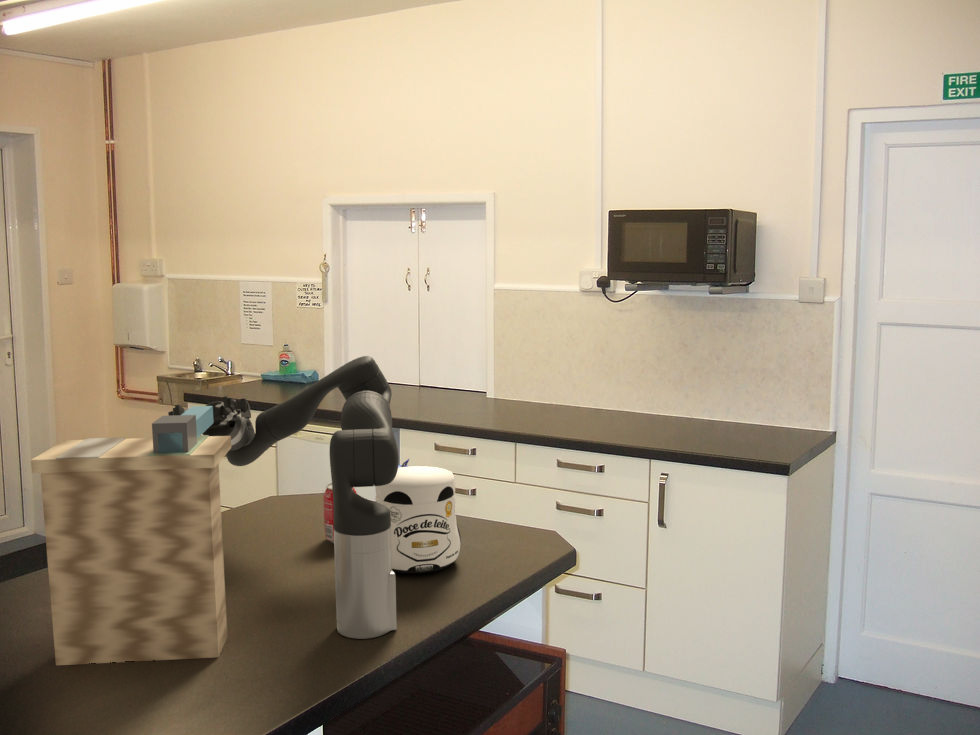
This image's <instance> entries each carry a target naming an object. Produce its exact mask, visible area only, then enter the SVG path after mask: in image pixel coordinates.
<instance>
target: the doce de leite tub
mask: <svg viewBox="0 0 980 735" xmlns="http://www.w3.org/2000/svg"><path fill="white" fill-rule="evenodd" d="M409 466H410V467H399V468H398V471H397V474H396V476H395V478H394V480H393V481H392V482H391V483H389V484H386V485H383V486H375V502H377V503H380V504H383V505H385V506H386V507H387V508H388V509H389V511H390V515H391V555H392V570H393V572H394V573H402V574H425V573H431V572H437V571H440V570H443V569H445V568H448V566H451V565H452V564H453V563H455V562H456V560H457V559H458V557H459V554H460V550H461V542H462V541H461V533H460V529H459V526H458V525H459V524H458V522H457V517H456V516H457V515H456V501H457V500H456V498H457V497H456V480H455V476H454V474H453V472H452V471H451V470H448V469H447V468H442V467H441V468H440V467H437V466H436V467H435V466H425V465H424V466H422V465H421V466H419V465H416V466H415V465H409Z"/></svg>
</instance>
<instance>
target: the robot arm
mask: <svg viewBox="0 0 980 735" xmlns="http://www.w3.org/2000/svg"><path fill="white" fill-rule="evenodd" d="M336 388H337V389H339V391H340V393H341V395H342V396H343V398H344V399H345V402H344V403H343V406H342V409H341V412H340V413H341V414H340V430H337V431H334V432H333V433H332V435H331V437H330V441H329V466H330V477H331V483H332V490H333V512H334V543H333V544H334V545H333V546H334V548H333V550H334V551H333V552H334V574H335V575H334V576H335V582H334V583H335V607H336V608H335V609H336V610H335V611H336V615H335V616H336V629H337V632H338V634H340V635H341V636H344V637H346V638H350V639H358V640H359V639H361V640H362V639H363V640H364V639H373V638H377V637H381V636H383V635H386V634H387V633H389V632H391V631H396V630H397V627H398V626H397V591H396V590H397V588H396V586H397V583H396V582H397V581H396V580H397V578H396V572H394V571H393V570H392V555H391V515H390V511H389V509H388V508H387V507H386V506H385V505H383V504H380V503H377V502H376V501H375V500H370V499H367V498H365V497H363V496H362V495H360V494H358V493H357V492H356V493H357V494H356V493H355V492H354V491H353V490H352V487H354V488H367V487H370V488H371V487H376V486H383V485H386V484H389V483H391V482H392V481H393V480H394V478H395V476H396V474H397V471H398V465H400V464H399V461H400V458H399V448H398V444H397V441H396V437H395V434H394V432H393V417H392V410H391V406H390V404H391V399H392V388H391V386H390V384H389V382H388V381H387V379H386V377H385V375H384V374H383V372H382V371H381V368H380V367H379V366H378V364H377V362H376V360H375V359H374V358H373V357H372V356H369V355H362V356H360V357H356V358H354V359H352V360H350V361H348V362H346V363H345V364H343V365H341V366H339V367H338V368H337V369H334V370H333V371H332V372H330V373H329V374H327V375H325V376H324V377H323V378H321V379H319V380H317V381H316V382H314V383H313V384H311V385H309V386H308V387H307V388H305V389H304V390H302V391H300V392H299V393H298V394H295V396H293V397H291V398H289V399H287V400H285V401H283V402H281V403H279V404H277V405H275V406H273V407H271V408H268V409H266V410H264V411H262V412H260V413H259V414H258V415H257V416H256V418H255V423H254V425H255V428H254V426H253V423H252V420H250V419H251V418H252V412H251V405H250V403H249V402H248V400H247V399H246V398H244V397H243V398H240V399H239V401H237V400H236V399H233V398H232V397H229V396H227V395H225V396H222V400H223V401H219V400H218V401H213V402H209V403H208V404H206V405H205V406H213V422H214V423H213V424H212V425H211V426H210V427H209V428H208V429H207V430H206V431H205V432H204V433H203V434H202V435H209V436H231V449H230V450H229V451H228V452H227V454H226V455H225V456H226V459H227V461H228V462H229V464H230V465H232V466H235V467H245V466H247V465H249V464H252V463H254V461H256V460H257V459H259V458H260V457H261V456H262V455H263V454H264V453H265V452H266V451H268V450H269V449H270V448H271V447H272V446H274V445H275V444H276V443H278V442H279V441H281V440H284V439H286V438H288V437H290V436H292V435H295V434H297V433H298V432H300V431H302V430H303V429H304V428H305V427H306V426H307V425H308V424H309V423H310V421H311V420H312V418H313V417H314V416H315V414H316V412H317V410H318V408H319V406H320V404H321V403H322V401H323V400H324V399H325V398H326V396H327V395H328V394H329V393H331V392H332V391H333V390H335V389H336ZM188 409H189V408H184V407H183V406H182V405H181V404H175V405H174V407H173V408H172V411H169V412H168V414H167V416H174V415H182V414H183V413H184V412H185V411H187V410H188Z"/></svg>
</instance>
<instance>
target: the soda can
mask: <svg viewBox="0 0 980 735" xmlns="http://www.w3.org/2000/svg"><path fill="white" fill-rule="evenodd" d="M325 487H326V489H325V490H324V492H323V516H324V517H323V522H324V524H323V525H324V527H323V528H324V536H325V539H326V540H327V541H328V542H329V541H330V543H332V544H334V512H333V490H332V482H331V483H327V485H326V486H325ZM352 490H353V491H354V492H355V493H356V494H358V493H357V491H356V489H355V487H352Z"/></svg>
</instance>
